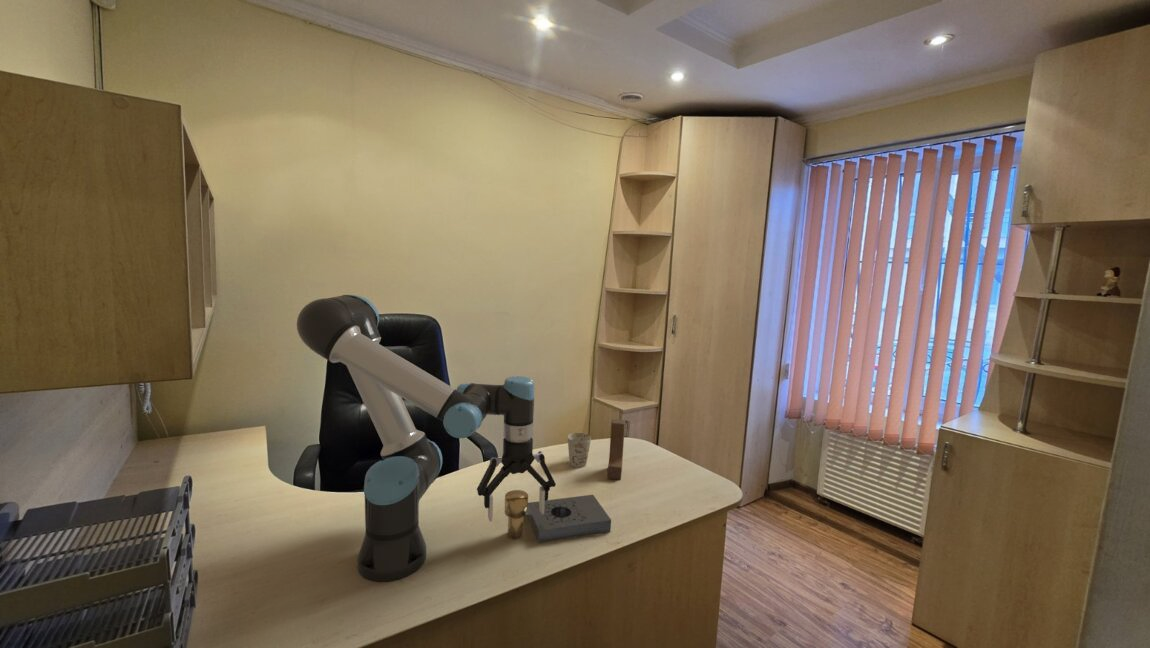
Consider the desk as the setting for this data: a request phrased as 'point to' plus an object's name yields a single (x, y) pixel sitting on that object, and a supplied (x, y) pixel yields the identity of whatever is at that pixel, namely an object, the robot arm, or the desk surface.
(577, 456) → the mug
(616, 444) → the wooden block
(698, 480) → the desk surface
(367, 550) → the robot arm
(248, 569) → the desk surface
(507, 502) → the knob
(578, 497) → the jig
